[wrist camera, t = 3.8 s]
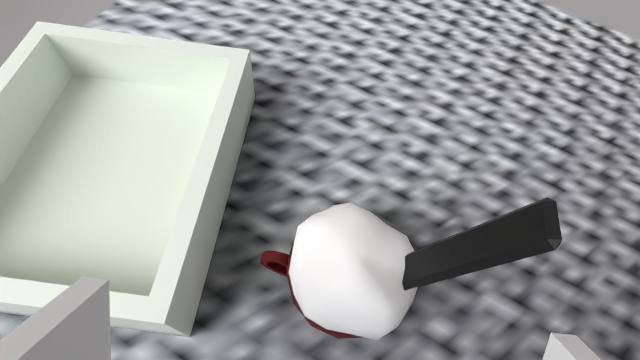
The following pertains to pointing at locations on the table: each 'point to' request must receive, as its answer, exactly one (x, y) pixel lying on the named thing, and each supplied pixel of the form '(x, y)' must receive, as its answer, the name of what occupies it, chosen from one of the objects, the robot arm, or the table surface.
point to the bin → (117, 168)
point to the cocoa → (394, 263)
